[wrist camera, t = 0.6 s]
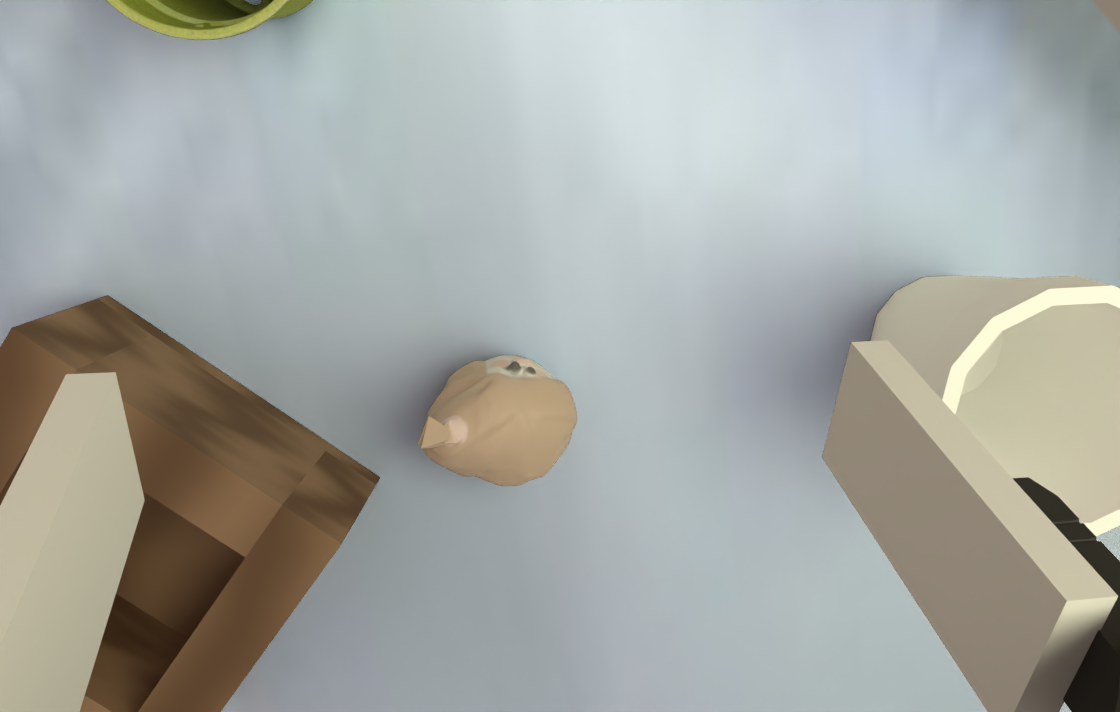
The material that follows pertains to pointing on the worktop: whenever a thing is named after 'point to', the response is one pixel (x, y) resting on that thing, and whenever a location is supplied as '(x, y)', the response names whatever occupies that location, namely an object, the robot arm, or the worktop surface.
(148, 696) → the walnut well
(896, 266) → the worktop surface
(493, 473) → the garlic bulb
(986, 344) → the foam cup
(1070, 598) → the robot arm
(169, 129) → the worktop surface
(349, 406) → the worktop surface
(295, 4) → the plant pot
